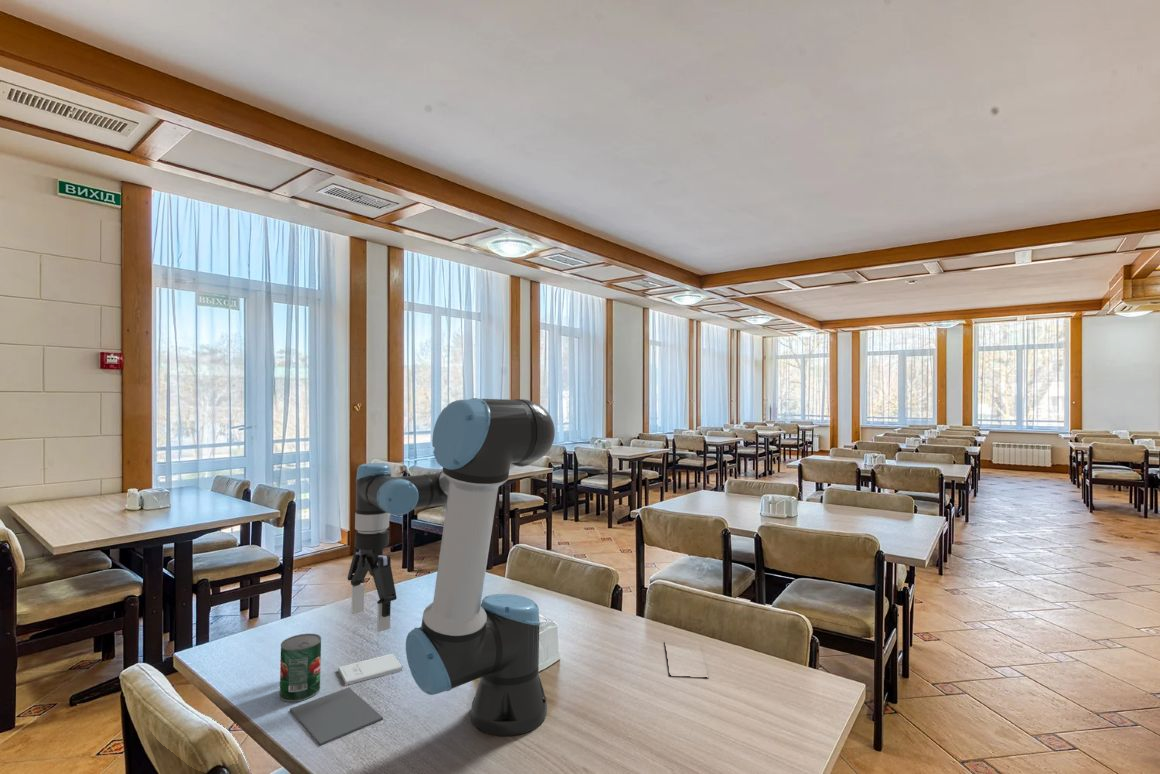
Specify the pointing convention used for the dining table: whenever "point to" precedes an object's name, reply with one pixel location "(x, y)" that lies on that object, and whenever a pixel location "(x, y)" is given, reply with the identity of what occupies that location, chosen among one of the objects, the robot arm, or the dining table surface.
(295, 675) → the canned tomato
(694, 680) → the dining table surface
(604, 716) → the dining table surface
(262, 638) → the dining table surface
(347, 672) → the external hard drive
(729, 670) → the dining table surface
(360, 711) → the mat
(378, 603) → the robot arm
